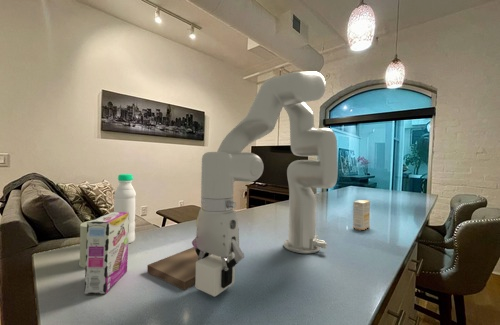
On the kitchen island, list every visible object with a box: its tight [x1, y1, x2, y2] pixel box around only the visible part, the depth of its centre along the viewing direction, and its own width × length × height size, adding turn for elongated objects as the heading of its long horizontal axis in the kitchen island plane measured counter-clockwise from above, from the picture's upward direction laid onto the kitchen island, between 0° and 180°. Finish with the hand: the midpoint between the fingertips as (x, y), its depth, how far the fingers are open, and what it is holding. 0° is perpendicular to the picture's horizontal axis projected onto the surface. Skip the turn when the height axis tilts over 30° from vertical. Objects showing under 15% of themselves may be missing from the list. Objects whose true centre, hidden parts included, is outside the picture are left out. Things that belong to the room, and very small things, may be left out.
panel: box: [146, 246, 199, 291], centre depth 68 cm, size 15×23×2 cm, turn 146°
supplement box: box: [352, 199, 371, 231], centre depth 110 cm, size 8×5×13 cm, turn 133°
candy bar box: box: [84, 211, 129, 296], centre depth 57 cm, size 11×5×16 cm, turn 5°
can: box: [78, 219, 93, 269], centre depth 69 cm, size 9×9×12 cm
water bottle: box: [113, 173, 137, 245], centre depth 85 cm, size 7×7×25 cm
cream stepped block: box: [194, 252, 236, 297], centre depth 56 cm, size 6×10×6 cm, turn 146°
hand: (215, 280), depth 54 cm, fingers closed on cream stepped block, 6 cm apart
